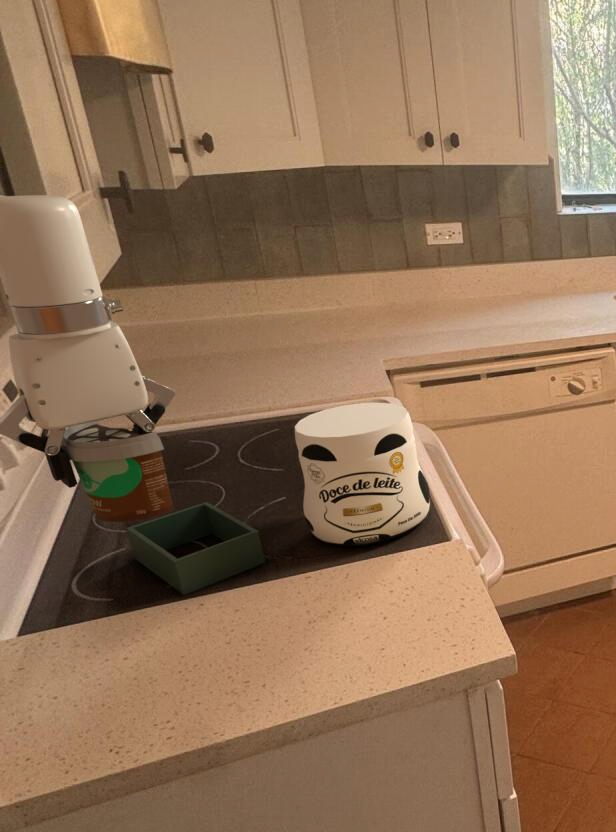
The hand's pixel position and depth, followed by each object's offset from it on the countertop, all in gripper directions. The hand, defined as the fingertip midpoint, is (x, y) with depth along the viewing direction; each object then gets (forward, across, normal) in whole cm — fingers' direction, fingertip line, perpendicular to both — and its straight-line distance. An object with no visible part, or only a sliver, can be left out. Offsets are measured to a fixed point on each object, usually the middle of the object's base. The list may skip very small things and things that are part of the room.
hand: (109, 471), depth 88 cm
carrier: (+21, -10, -14) cm, 27 cm away
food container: (+5, 0, 0) cm, 5 cm away
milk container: (+21, -30, -4) cm, 37 cm away
